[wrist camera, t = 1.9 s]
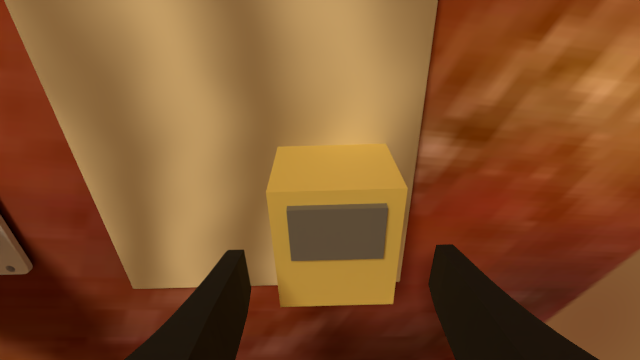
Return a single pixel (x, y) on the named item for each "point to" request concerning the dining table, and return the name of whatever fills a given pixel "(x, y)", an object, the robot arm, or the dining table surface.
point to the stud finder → (336, 224)
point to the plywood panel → (220, 111)
